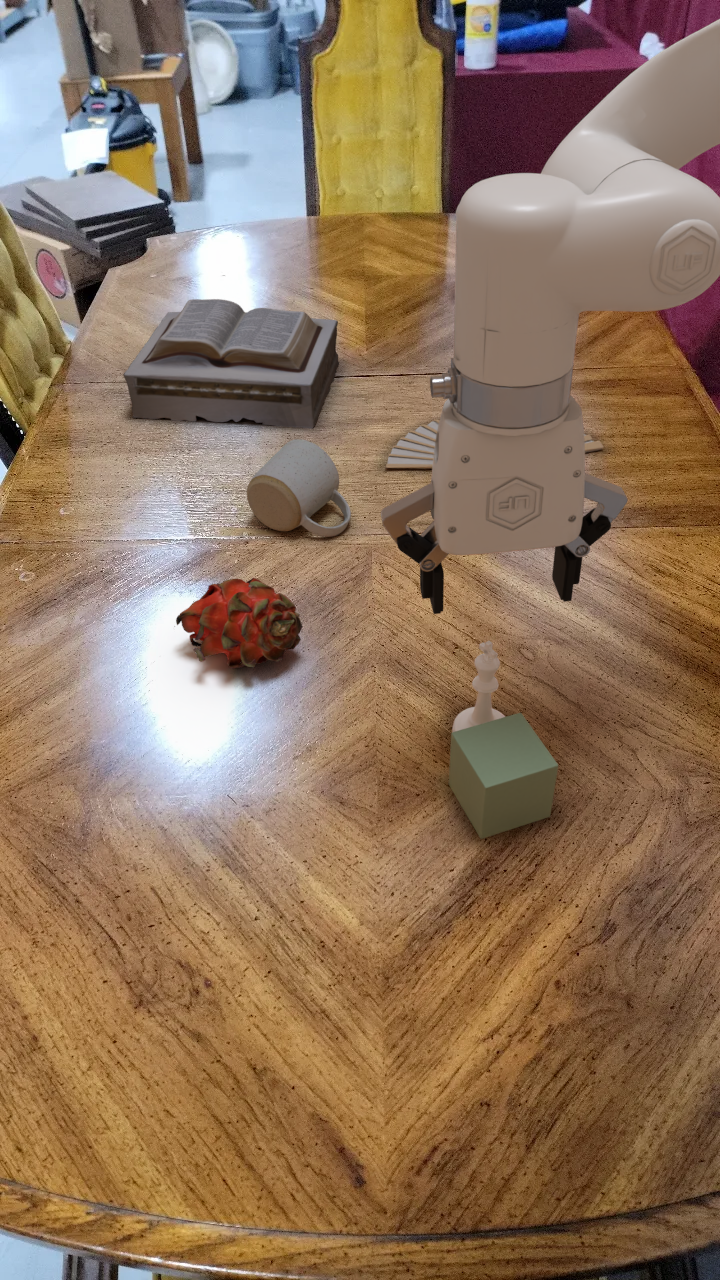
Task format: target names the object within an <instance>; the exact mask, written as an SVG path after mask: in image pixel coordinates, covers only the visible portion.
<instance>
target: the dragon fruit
mask: <svg viewBox="0 0 720 1280" xmlns="http://www.w3.org/2000/svg"><path fill="white" fill-rule="evenodd" d="M207 588H208V589H207V590H206V592H205V593H204V594H203V595H202V596H201V597H200V599H197V600H195V601H193V602H192V603H191V604H190V606H189V607H187V608H185V609H184V610H183V611H181V612H180V613H179V614H178V615H177V617H176V619H175V623H176V626H179V625H180V624H181V626H182V629H183V631H185V632H186V633H188V634H189V642H190V644H191V645H192V646H193V647H194V648H193V652H194V653H195V654H196V658H198V661H199V662H201V663H202V662H204V661H206V658H207V657H211V656H215V655H219V654H224V655H226V658H227V661H226V664H227V667H229V669H232V670H233V669H234V670H235V669H238V668H243V667H245V666H246V667H248V668H256V665H259V664H263V663H267V662H268V661H273V662H279V661H283V659H284V658H283V657H284V654H285V651H290V650H291V651H292V650H295V648H296V647H297V646H298V645H299V643H300V641H301V640H302V639H301V637H300V635H299V634H300V633H301V631H302V629H303V627H304V626H303V624H302V622H301V621H302V620H301V618H300V613H298V612H297V611H296V610H297V607H296V605H295V603H294V602H293V601H292V600H291V599H290V598H289V597H287V596H286V595H285V594H283V593H281V592H277V593H276V591H275V589H274V587H273V586H269V585H268V584H266V583H265V582H263V581H261V580H260V579H258V578H255V577H252V578H251V579H249V580H247V581H245V580H243V579H241V578H230V579H226V580H224V581H222V582H220V583H212V584H211V583H210V584H209V585H208V587H207ZM176 626H175V625H174V627H173V630H175V627H176ZM198 641H200V642H201V643H200V642H198ZM198 647H199V648H198Z"/></svg>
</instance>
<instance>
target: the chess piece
mask: <svg viewBox="0 0 720 1280" xmlns="http://www.w3.org/2000/svg"><path fill="white" fill-rule="evenodd" d="M493 646H494V643H493V642H492V641H491V640H487V641H485V642H481V643H479V644H478V650H480V651H481V652H483V653H481V654H479V655H477V656H476V657H475V659H474V668H475V670H476V673H477V675H476V676H475V677H473V680H472V682H471V686H472V688H473V689H474V690H475V691H476V692H477V697H476V701H475V705H474V706H471V707H468V708H465V709H463V710H462V711H460V712H459V713H458V714H457V715H456V717H455V718H454V721H453V724H452V728H451V730H452V732H455V731H459V730H462V729H466V728H469V727H473V726H476V725H479V724H483V723H486V722H490V721H493V720H497V719H500V718H503V717H506V715H504V714H503V713H502V712H501V711H499V710H497V709H495V708H493V704H492V703H493V702H492V693H494V692H496V691H497V690H498V689H499V686H500V685H499V681H498V679H497V678H496V673H497V671H498V670H499V668H500V665H501V662H500V661H501V660H500V659H499V658H498V654H499V653H498V652H497V651H496V650H494V649H493V648H494V647H493ZM452 732H451V733H452Z"/></svg>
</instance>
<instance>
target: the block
mask: <svg viewBox="0 0 720 1280" xmlns="http://www.w3.org/2000/svg"><path fill="white" fill-rule="evenodd" d="M449 749H450V752H449V754H450V755H449V765H448V767H449V768H448V786H449V787H450V789H451V791H452V793H453V794H454V796H455V798H456V800H457V801H458V803H459V805H460V807H461V808H462V810H463V811H464V813H465V815H466V817H467V818H468V821H469V822H470V824H471V825H472V827H473V829H474V830H475V832H476V833H477V835H478V837H479V839H480V840H483V839H486V838H488V837H492V836H495V835H498V834H502V833H504V832H507V831H510V830H513V829H516V828H519V827H523V826H525V825H529V824H532V823H536V822H538V821H541V820H544V819H547V818H550V817H551V814H552V808H553V802H554V795H555V789H556V783H557V777H558V770H559V764H558V762H557V760H556V759H555V758H554V757H553V755H552V754H551V753H550V751H549V750H548V748H547V747H546V745H545V744H544V743H543V741H542V740H541V739H540V737H539V735H538V734H537V733H536V732H535V730H534V729H533V727H532V726H531V724H530V723H529V721H528V720H527V719H526V718H525V716H524V715H523V713H522V712H517V713H514V714H511V715H510V714H509V715H507V716H505V717H503V718H500V719H497V720H493V721H490V722H486V723H483V724H479V725H476V726H473V727H469V728H466V729H462V730H459V731H455V732H451V734H450V748H449Z"/></svg>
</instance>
